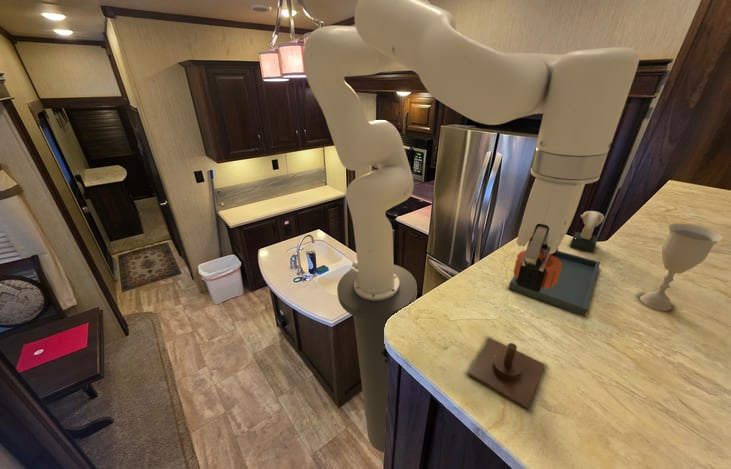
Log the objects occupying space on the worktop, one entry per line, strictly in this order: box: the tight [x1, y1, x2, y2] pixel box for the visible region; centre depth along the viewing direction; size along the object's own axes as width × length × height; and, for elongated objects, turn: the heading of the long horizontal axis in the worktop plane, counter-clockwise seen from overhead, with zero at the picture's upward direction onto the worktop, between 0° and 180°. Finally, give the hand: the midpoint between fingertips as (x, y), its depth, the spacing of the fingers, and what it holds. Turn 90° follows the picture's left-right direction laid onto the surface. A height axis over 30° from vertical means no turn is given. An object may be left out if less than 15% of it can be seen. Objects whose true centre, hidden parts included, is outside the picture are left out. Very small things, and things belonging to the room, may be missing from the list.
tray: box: [508, 250, 601, 317], centre depth 73 cm, size 16×22×2 cm
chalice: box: [639, 223, 723, 312], centre depth 60 cm, size 7×7×18 cm
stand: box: [467, 337, 545, 410], centre depth 51 cm, size 10×10×6 cm
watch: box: [569, 210, 605, 254], centre depth 83 cm, size 6×8×11 cm
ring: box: [513, 249, 562, 289], centre depth 45 cm, size 6×6×3 cm
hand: (534, 275), depth 45 cm, fingers closed on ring, 6 cm apart
